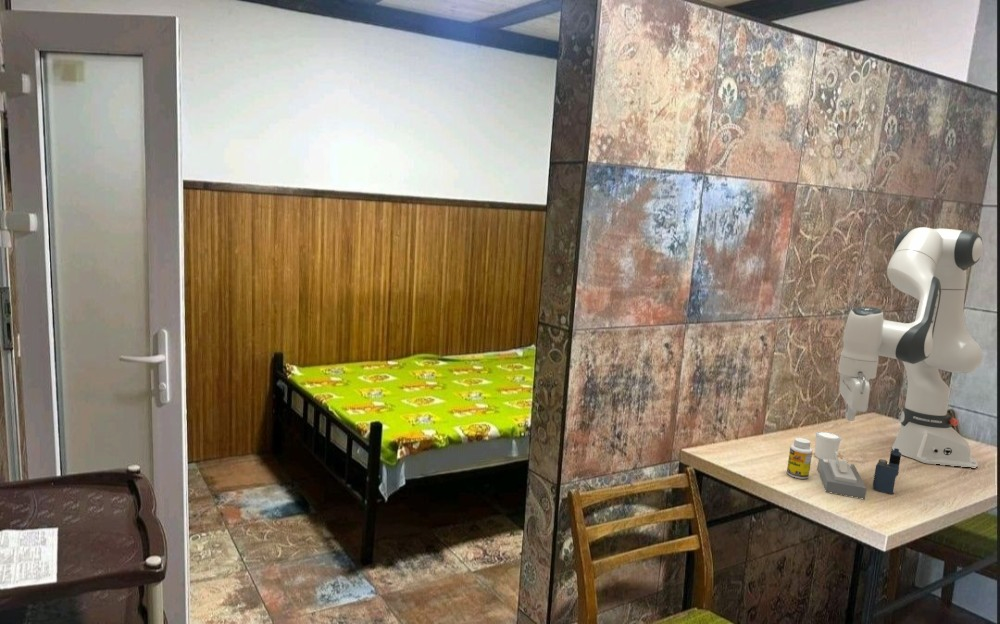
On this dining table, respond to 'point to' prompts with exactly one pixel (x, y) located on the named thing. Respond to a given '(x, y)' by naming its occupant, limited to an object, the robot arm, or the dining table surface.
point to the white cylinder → (826, 445)
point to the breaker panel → (841, 479)
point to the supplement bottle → (799, 459)
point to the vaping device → (887, 473)
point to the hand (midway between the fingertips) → (849, 419)
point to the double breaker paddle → (841, 461)
